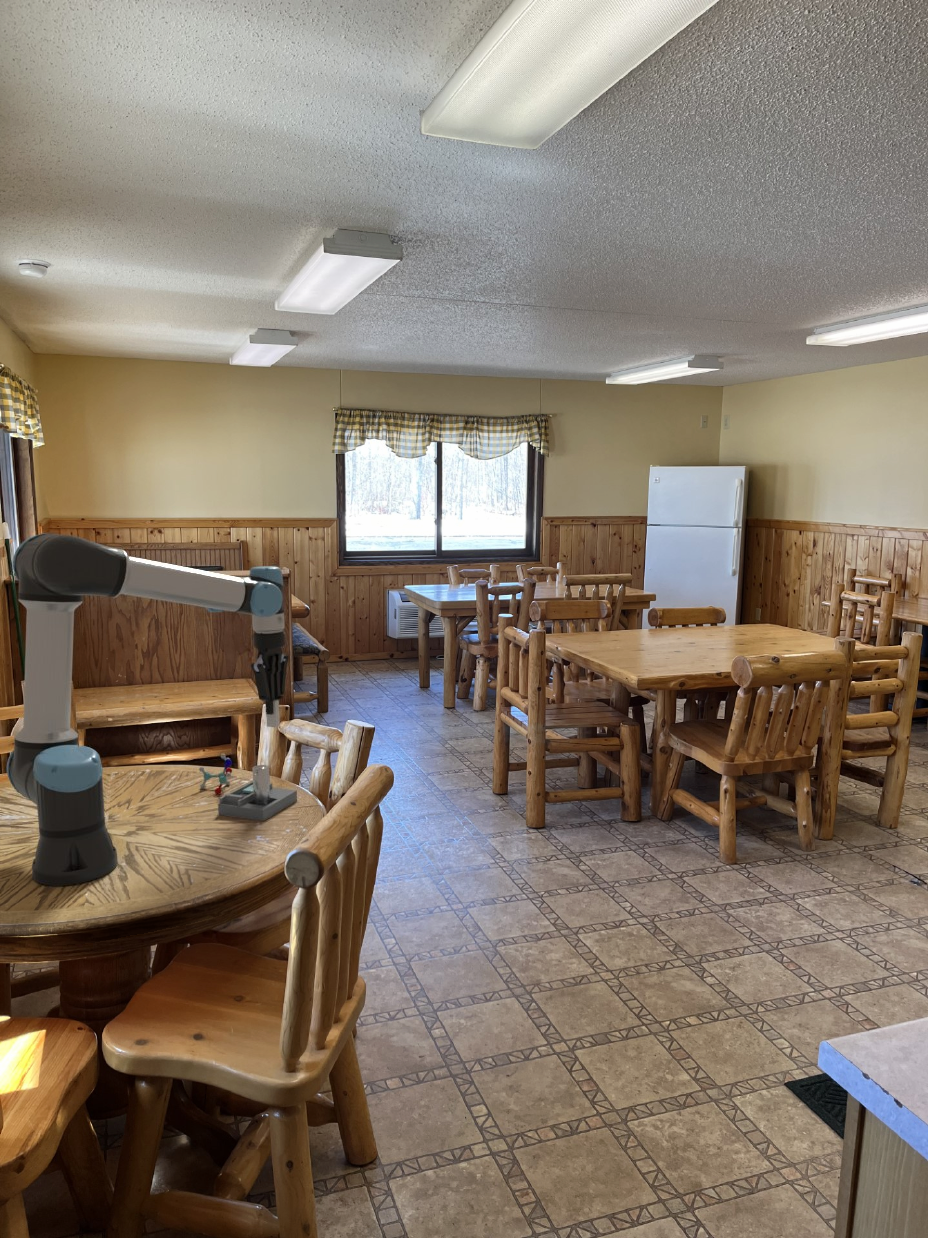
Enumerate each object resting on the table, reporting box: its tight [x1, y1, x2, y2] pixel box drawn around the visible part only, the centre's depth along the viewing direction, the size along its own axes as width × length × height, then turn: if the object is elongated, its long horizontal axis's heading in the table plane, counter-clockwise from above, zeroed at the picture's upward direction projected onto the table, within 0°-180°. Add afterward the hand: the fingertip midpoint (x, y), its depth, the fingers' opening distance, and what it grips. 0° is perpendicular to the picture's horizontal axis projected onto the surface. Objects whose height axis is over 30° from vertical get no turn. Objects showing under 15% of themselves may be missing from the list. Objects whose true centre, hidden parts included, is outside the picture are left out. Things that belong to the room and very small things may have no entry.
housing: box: [217, 780, 298, 822], centre depth 200 cm, size 14×12×4 cm
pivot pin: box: [251, 764, 270, 806], centre depth 197 cm, size 4×4×10 cm
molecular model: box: [198, 753, 233, 795], centre depth 213 cm, size 12×10×10 cm
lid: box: [243, 772, 271, 794], centre depth 205 cm, size 6×4×4 cm, turn 159°
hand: (273, 726), depth 211 cm, fingers closed
